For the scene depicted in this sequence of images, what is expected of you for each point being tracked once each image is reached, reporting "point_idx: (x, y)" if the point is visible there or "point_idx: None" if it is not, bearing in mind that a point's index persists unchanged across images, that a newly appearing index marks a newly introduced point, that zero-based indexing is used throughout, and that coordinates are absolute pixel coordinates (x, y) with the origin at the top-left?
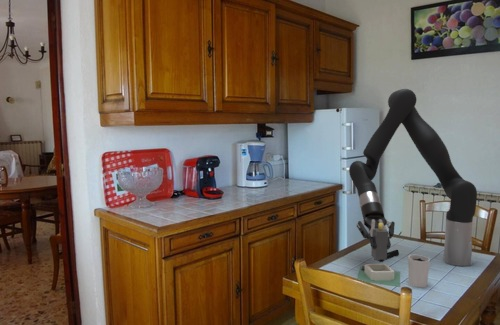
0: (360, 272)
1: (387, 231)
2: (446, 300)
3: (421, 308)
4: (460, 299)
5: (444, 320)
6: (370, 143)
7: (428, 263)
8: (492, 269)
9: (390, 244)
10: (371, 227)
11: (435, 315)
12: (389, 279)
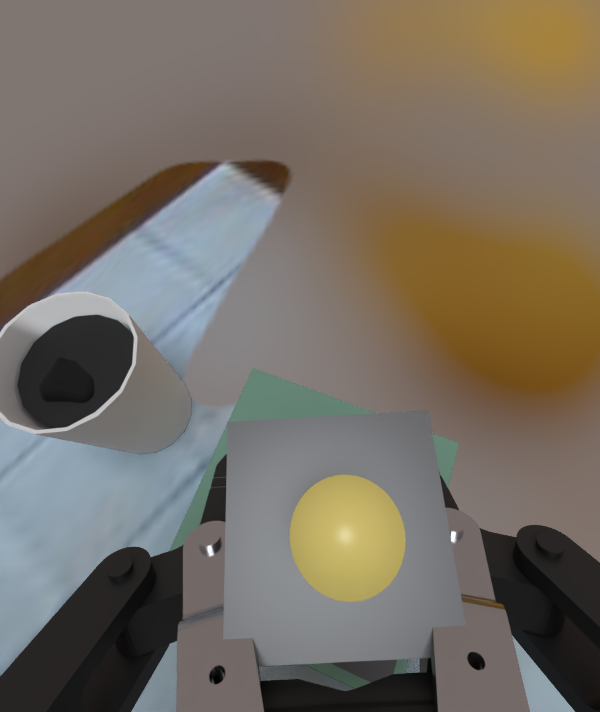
0: None
1: (239, 427)
2: (109, 281)
3: (243, 224)
4: (46, 290)
5: (209, 161)
6: None
7: (42, 315)
8: None
9: (220, 467)
10: (511, 654)
11: (220, 185)
12: None
